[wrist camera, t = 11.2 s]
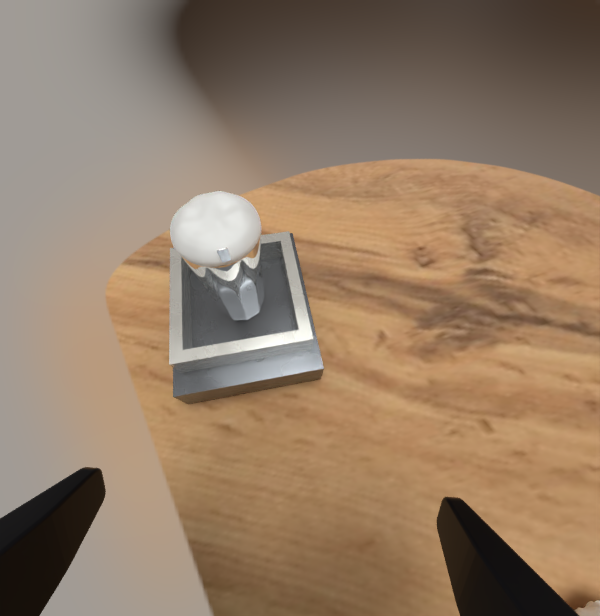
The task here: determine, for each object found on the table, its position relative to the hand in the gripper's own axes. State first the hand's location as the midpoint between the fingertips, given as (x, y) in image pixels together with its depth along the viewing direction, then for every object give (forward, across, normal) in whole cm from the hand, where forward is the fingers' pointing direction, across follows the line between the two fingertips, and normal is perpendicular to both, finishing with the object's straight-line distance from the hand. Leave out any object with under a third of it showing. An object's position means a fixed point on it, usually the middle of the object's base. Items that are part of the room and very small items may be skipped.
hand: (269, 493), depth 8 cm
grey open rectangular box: (+17, +4, +2) cm, 18 cm away
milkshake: (+15, +4, 0) cm, 16 cm away
